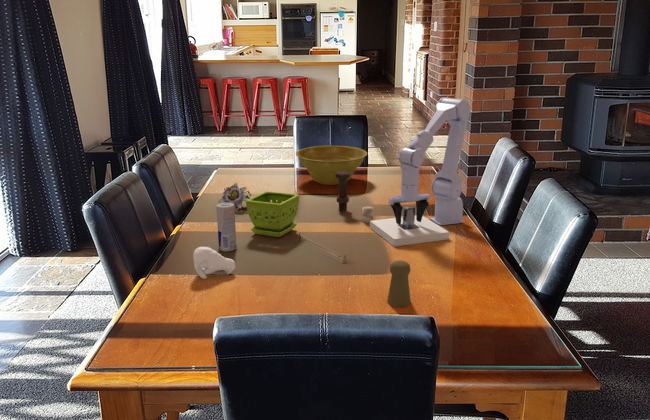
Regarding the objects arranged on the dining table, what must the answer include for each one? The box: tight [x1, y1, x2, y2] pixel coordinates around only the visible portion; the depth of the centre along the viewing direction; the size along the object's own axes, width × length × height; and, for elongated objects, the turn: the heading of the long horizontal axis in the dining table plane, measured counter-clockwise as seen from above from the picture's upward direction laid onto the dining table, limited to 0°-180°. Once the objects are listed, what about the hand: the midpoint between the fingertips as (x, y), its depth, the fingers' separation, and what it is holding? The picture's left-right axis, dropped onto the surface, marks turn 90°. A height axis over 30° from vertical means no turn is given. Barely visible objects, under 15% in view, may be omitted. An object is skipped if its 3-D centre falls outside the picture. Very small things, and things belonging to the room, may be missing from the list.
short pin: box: [361, 205, 374, 224], centre depth 218 cm, size 4×4×5 cm
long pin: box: [402, 206, 416, 230], centre depth 204 cm, size 4×4×9 cm
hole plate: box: [369, 214, 450, 247], centre depth 205 cm, size 20×20×2 cm
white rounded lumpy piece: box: [192, 246, 236, 280], centre depth 172 cm, size 6×8×12 cm
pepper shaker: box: [386, 260, 412, 308], centre depth 153 cm, size 6×6×11 cm
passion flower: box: [218, 182, 252, 209], centre depth 234 cm, size 11×11×12 cm
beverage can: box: [215, 202, 237, 253], centre depth 190 cm, size 6×6×15 cm
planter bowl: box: [295, 145, 368, 186], centre depth 272 cm, size 32×32×13 cm
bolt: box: [336, 171, 350, 212], centre depth 229 cm, size 6×5×15 cm
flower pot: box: [245, 191, 300, 238], centre depth 206 cm, size 14×14×13 cm
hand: (408, 222), depth 204 cm, fingers open, 7 cm apart
